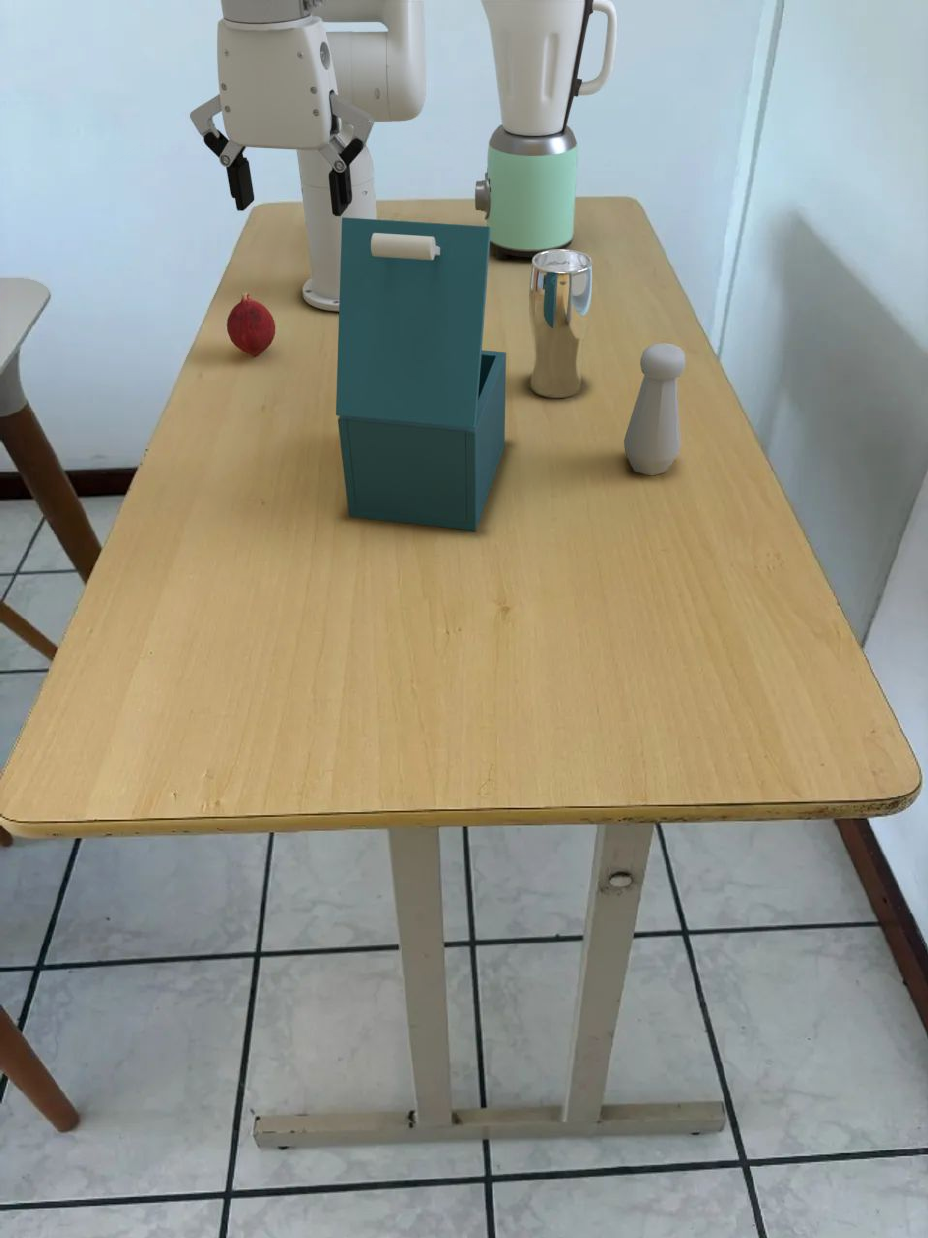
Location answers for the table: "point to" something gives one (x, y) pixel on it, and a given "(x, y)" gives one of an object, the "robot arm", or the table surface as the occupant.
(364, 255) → the lid
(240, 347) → the onion
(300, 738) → the table surface
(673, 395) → the salt shaker
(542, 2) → the mint green blender
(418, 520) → the cool box
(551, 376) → the beer glass
